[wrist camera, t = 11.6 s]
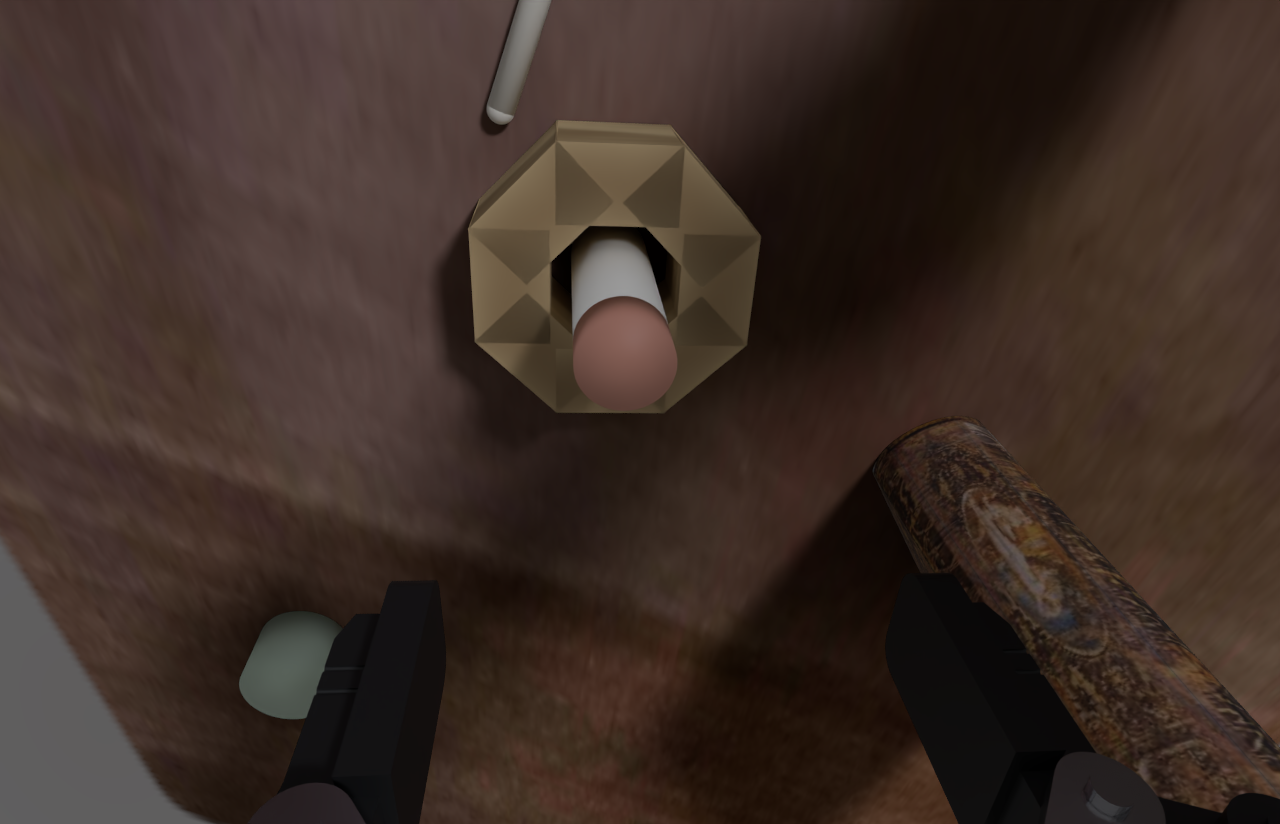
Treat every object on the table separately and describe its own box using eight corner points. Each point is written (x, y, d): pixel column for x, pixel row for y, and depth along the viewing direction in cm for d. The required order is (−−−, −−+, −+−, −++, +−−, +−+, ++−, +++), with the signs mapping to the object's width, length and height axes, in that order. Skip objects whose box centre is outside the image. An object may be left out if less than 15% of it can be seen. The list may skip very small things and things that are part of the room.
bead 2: (748, 127, 29) (773, 148, 25) (720, 368, 34) (737, 413, 30) (475, 116, 28) (462, 136, 24) (487, 366, 33) (478, 413, 29)
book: (862, 453, 37) (1290, 1146, 15) (971, 400, 36) (1596, 1060, 14) (960, 657, 44) (1335, 1308, 23) (1052, 618, 43) (1535, 1260, 22)
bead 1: (344, 609, 39) (329, 654, 36) (354, 670, 41) (340, 717, 38) (253, 610, 38) (230, 656, 36) (268, 672, 41) (248, 720, 38)
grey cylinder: (648, 218, 30) (681, 317, 22) (643, 290, 32) (673, 410, 23) (571, 216, 30) (573, 316, 21) (570, 289, 31) (572, 410, 23)
